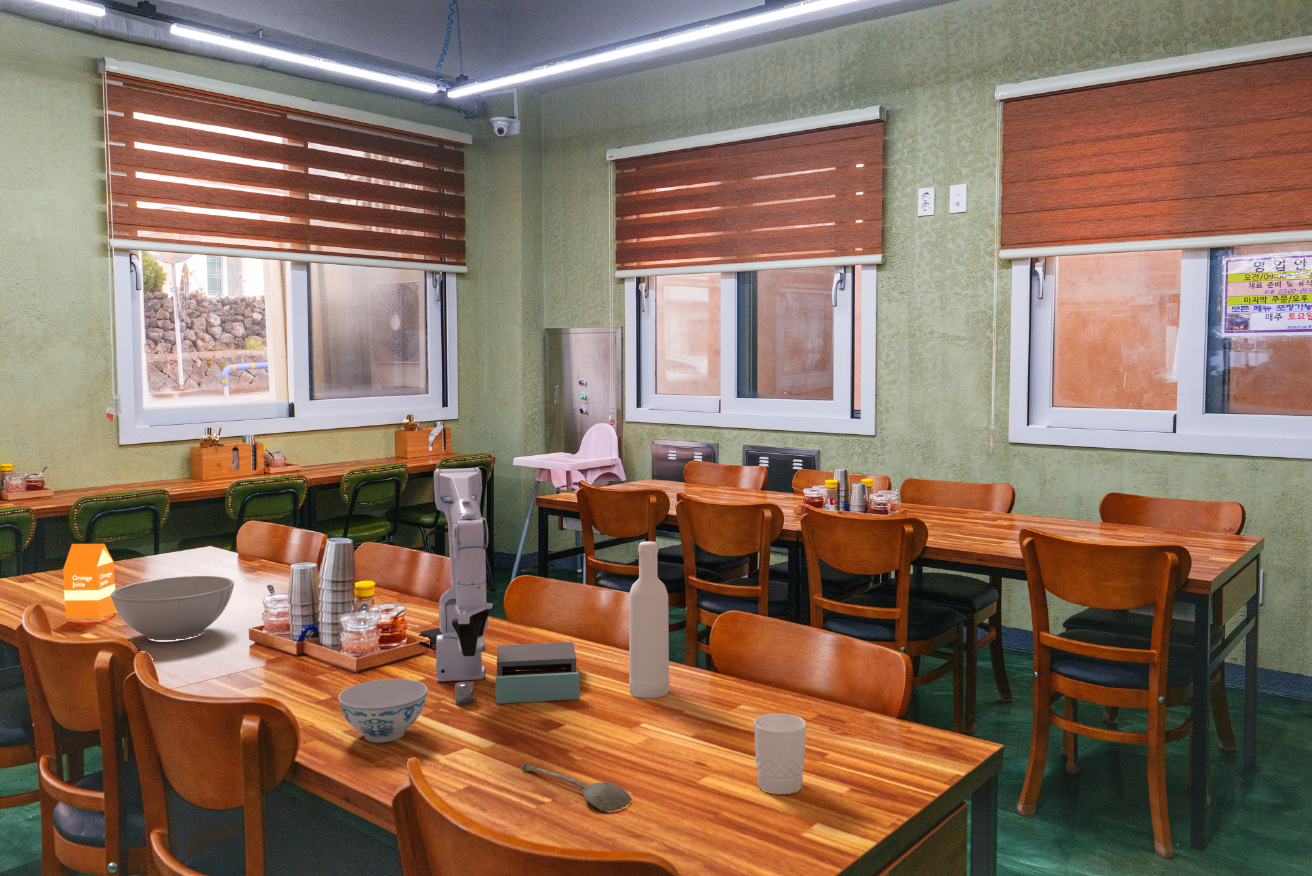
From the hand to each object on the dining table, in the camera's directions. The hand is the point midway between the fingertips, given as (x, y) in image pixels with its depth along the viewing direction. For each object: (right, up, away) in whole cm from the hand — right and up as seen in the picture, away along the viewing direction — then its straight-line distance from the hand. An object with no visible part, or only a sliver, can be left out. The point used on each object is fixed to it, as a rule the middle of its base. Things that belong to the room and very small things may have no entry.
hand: (472, 651), depth 184 cm
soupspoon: (+23, -13, -39) cm, 47 cm away
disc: (0, 0, 0) cm, 0 cm away
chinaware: (-12, -11, -17) cm, 23 cm away
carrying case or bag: (-14, -8, +40) cm, 43 cm away
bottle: (+34, -10, +5) cm, 36 cm away
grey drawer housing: (+11, -9, +15) cm, 20 cm away
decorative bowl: (-82, -8, +49) cm, 96 cm away
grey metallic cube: (-1, -10, 0) cm, 10 cm away
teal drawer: (+12, -9, +6) cm, 16 cm away
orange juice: (-113, -7, +66) cm, 131 cm away
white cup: (+54, -12, -38) cm, 68 cm away
